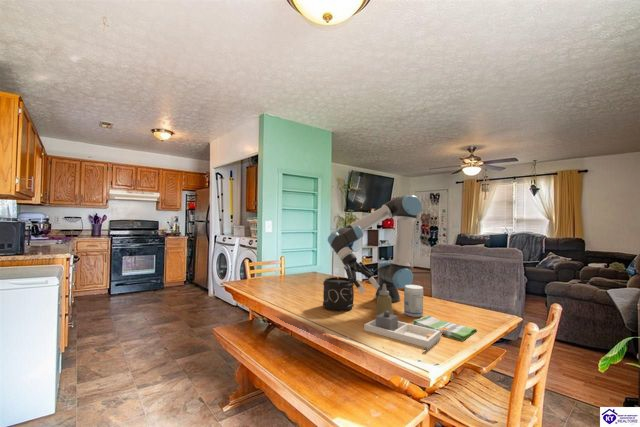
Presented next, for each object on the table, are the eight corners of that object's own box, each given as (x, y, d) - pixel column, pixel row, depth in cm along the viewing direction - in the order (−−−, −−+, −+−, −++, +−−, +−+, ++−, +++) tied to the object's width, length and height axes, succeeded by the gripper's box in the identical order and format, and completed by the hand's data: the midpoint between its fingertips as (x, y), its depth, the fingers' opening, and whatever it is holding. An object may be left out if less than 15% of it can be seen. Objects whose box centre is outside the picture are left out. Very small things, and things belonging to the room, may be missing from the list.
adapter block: (383, 325, 137) (383, 308, 137) (397, 329, 132) (397, 311, 132) (375, 330, 131) (375, 311, 131) (390, 333, 127) (390, 314, 127)
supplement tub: (400, 312, 160) (400, 284, 161) (416, 311, 163) (416, 284, 163) (410, 318, 151) (410, 288, 151) (427, 316, 153) (427, 288, 154)
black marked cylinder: (343, 314, 156) (343, 284, 156) (316, 308, 167) (316, 280, 167) (360, 306, 170) (360, 279, 171) (334, 301, 181) (334, 275, 182)
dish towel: (428, 319, 151) (428, 312, 151) (477, 332, 134) (477, 324, 134) (411, 328, 139) (411, 320, 139) (462, 342, 122) (462, 334, 122)
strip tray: (380, 324, 142) (380, 316, 142) (440, 339, 124) (440, 331, 124) (364, 332, 131) (364, 324, 131) (427, 350, 113) (427, 341, 113)
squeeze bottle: (394, 319, 148) (394, 283, 149) (389, 324, 141) (389, 286, 142) (379, 317, 152) (379, 281, 153) (373, 321, 145) (373, 284, 146)
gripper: (356, 259, 172) (378, 290, 162) (328, 263, 153) (352, 298, 143) (364, 251, 169) (387, 281, 158) (337, 254, 150) (361, 289, 140)
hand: (371, 290), depth 151 cm, fingers open, 13 cm apart
